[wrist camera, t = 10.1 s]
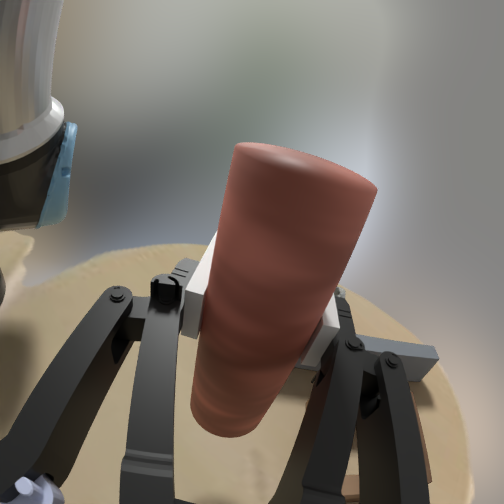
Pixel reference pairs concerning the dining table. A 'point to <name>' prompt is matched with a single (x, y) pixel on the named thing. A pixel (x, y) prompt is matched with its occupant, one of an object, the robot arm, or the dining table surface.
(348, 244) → the dowel
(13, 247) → the dining table surface
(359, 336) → the backstop wall
